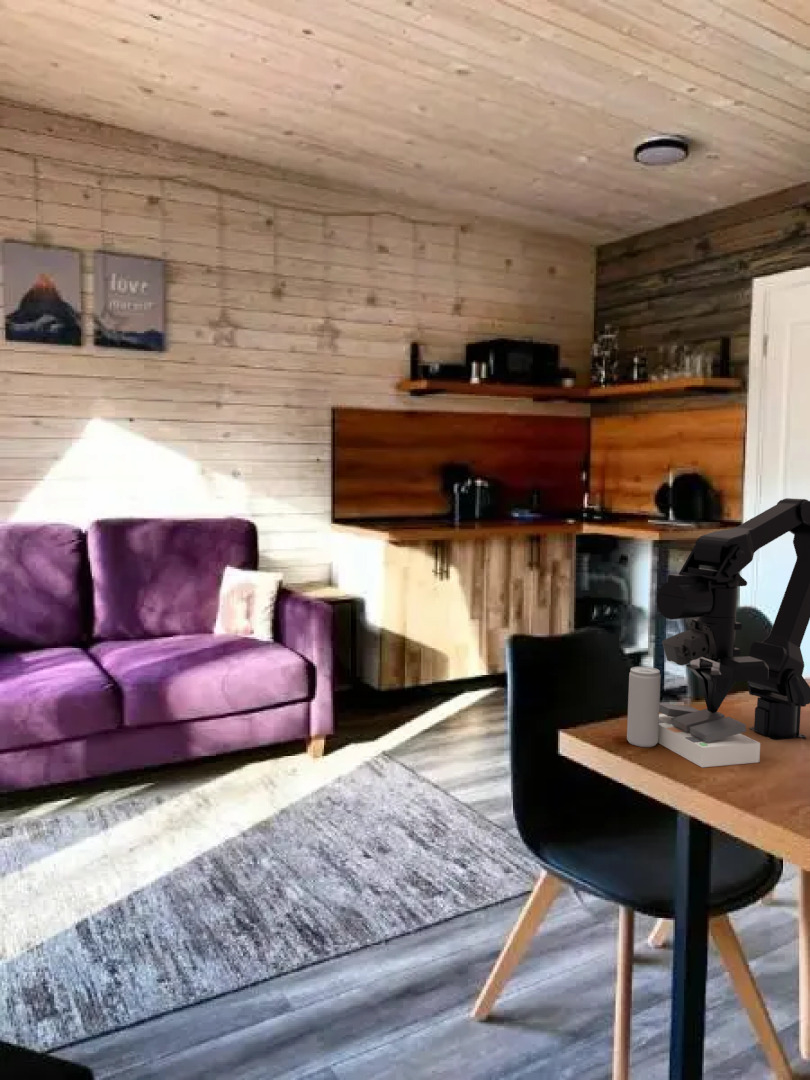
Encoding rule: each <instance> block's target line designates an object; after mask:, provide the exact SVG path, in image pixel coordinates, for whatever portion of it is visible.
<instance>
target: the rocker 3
mask: <svg viewBox="0 0 810 1080" xmlns="http://www.w3.org/2000/svg"><path fill="white" fill-rule="evenodd" d="M690 733H691V735H692V736H694V737H696V738H698V739H700V740H702V741H704V742H706V743H707V742H711V741H714V740H718V739H722V738H725V737H729V736H732V735H736V734H743V733H747V727H746V724H745V722H744V723H743V721H739V720H737V719H736V718H735V719H734V718H733V717H731V716H727V717H726V716H725V718H722V719H718V720H715V721H711V722H707V723H704V724H700V725H696V726H693V727H690Z"/></svg>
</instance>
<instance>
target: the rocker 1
mask: <svg viewBox="0 0 810 1080" xmlns="http://www.w3.org/2000/svg"><path fill="white" fill-rule="evenodd" d="M696 711H700V709H697V708H695V707H692V706H689V705H680V704H674V703H673V704H671V703H665V702H660V703H659V713H660V714H665V715H667V716H671V717H677V716H681V715H685V714H688V713H692V712H696Z"/></svg>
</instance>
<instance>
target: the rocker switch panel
mask: <svg viewBox="0 0 810 1080" xmlns="http://www.w3.org/2000/svg"><path fill="white" fill-rule="evenodd" d="M671 718H673V717H671V716H667V715H665V714H663V713H659V728H658V743H657V744H660V745H661V746H663V747H665V748H667V749H668V750H669V751H672V752H674V753H675V754H677V755H679V756H681V757H683V758H685V760H688V762H689V761H690V762H691V763H693V764H695V765H697V766H699V767H701V768H709V767H721V766H723V767H724V766H733V765H743V764H744V765H745V764H754V763H755V764H756V763H760V761H761V760H760V756H761V742H759V741H758V740H755V739H753V738H751V737H749V736H747V735H745V734H743V733H740V734H736V735H732V736H729V737H725V738H722V739H718V740H714V741H711V742H707V743H706V742H704V741H702V740H700V739H698V738H696V737H694V736H692V735H691V733H690V732H688V733H686V732H685V731H683V730H681V729H679V728H677V727H675V726H673V725H672V719H671Z"/></svg>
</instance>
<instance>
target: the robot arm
mask: <svg viewBox="0 0 810 1080" xmlns="http://www.w3.org/2000/svg"><path fill="white" fill-rule="evenodd" d="M786 533H791V534H792V535H794V536H793V540H792V544H793V548H794V551H795V555H796V561H795V563H794V566H793V569H792V571H791V575H790V577H789V580H788V583H787V585H786V588H785V591H784V594H783V596H782V599H781V603H780V605H779V608H778V610H777V613H776V616H775V619H774V622H773V624H772V626H771V630H770V632H769V635H768V637H767V638H765V639H764V640H763V641H757V640H756V641H755V640H754V641H753V643H752V644H751V645H750V646H751V647H750V650H749V653H748V655H746V656H741V648H738V647H736V631H742V628H743V627H742V626H743V624H742V623H741V622H738V621H737V606H738V605H737V604H738V603H737V600H738V587H746V586H747V585H748V581H747V580H746V579H745V578H743V577H742V575H741V574H740V572H742V570H743V569H745V568H746V567H747V566H748V565H749V564H750V563H751V562H752V561H753V559H754V555H755V553H756V552H757V551H758V550H759V549H761V548H763V547H765V546H766V545H768V544H770V543H771V542H773V541H775V540H776V539H778V538H780V537H781V536H783V535H786ZM694 544H695V545H694V546H693V548H692V550H691V551H690V553H689V555H688V556H687V558H686V560H685V562H684V564H683V565H682V567H681V569H680V570H679V573H678V574H675V573H673V574H672V573H670V574H668V575H667V582H665V583H664V584H663V585H662V586H660V588H659V590H658V593H657V594H656V604H657V608H658V611H659V612H660V614H661V615H662V616H663V617H664V618H666V619H668V620H682V619H689V618H690V619H691V618H692V619H691V621H690V622H689V629H688V630H686V631H682V632H679V633H677V634H673V635H672V636H670V637H667V638H665V639H664V640H662V641H661V644H662V646H663V651H664V653H665V657H666V660H667V661H668V662H672V663H676V665H678V666H686V668H687V669H689V670H690V671H691V672H692V673H693V674H694V675H695V676H696V677H697V679H698V682H699V684H700V687H701V691H702V694H703V695H702V696H703V698H704V702H705V705H706V709H708V711H709V712H712V713H713V712H718V711H719V708H720V707H721V705H722V704H723V702H724V700H725V699H726V697H727V695H728V693H729V692H730V690H731V688H732V687H733V686H734V685H735V684H736V682H746V685H747V689H748V694H749V695H750V696H755V697H757V699H756V700H757V701H756V702H757V703H756V707H755V708H754V724H753V726H752V727H749V729H750V730H751V731H753V732H755V733H758V734H760V735H762V736H764V737H767V738H769V739H771V740H772V741H773V740H774V741H779V740H792V739H803V740H806V739H807V735H805V734H803V733H801V732H800V731H801V729H800V727H801V712H802V710H801V708H802V707H806V706H807V705H810V685H809V684H808V682H807V681H806V679H805V678H804V677H803V673H804V669H805V662H804V656H803V653H802V650H801V646H802V642H803V640H804V636H805V634H806V632H807V629H808V628H807V627H808V626H809V622H810V500H808V499H806V498H788V497H787V498H782V499H780V500H779V501H778V502H776V504H775V505H773V506H772V507H769V508H767V509H766V510H764V511H762V512H761V513H759V514H757V515H756V516H754V517H752V518H750V519H749V520H747V521H745V522H743V523H741V524H740V525H738V526H736V527H733V528H728V529H723V530H716V531H713V532H709V533H706V534H702V535H701V536H700V537H698V538H697V539H696V541H695V543H694Z"/></svg>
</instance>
